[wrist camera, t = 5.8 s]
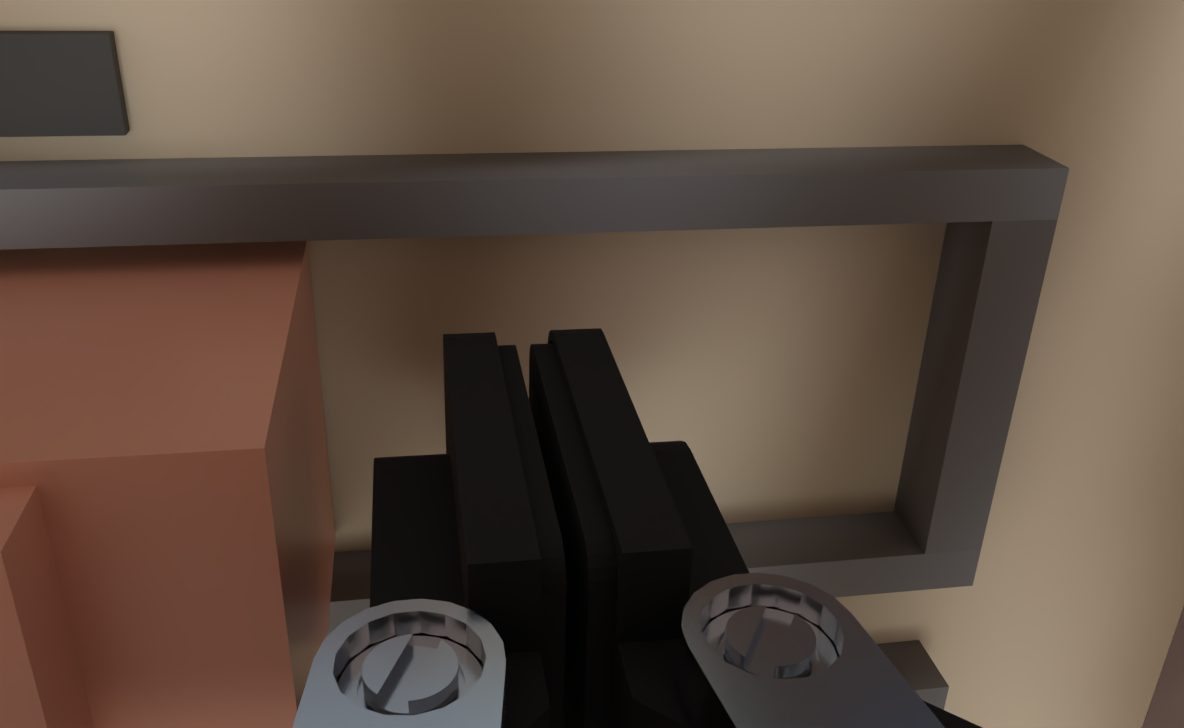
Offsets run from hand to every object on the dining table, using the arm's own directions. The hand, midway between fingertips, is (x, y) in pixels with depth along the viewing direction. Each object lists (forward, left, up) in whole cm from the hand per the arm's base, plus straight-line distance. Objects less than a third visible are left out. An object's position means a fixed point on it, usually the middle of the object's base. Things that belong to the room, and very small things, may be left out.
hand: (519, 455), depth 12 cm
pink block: (+4, 0, -2) cm, 5 cm away
